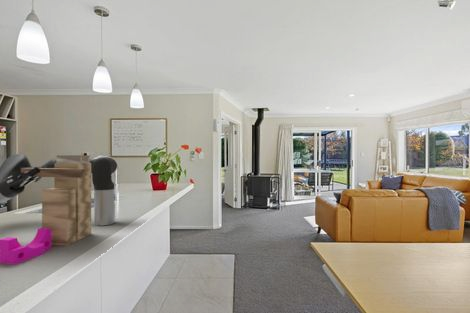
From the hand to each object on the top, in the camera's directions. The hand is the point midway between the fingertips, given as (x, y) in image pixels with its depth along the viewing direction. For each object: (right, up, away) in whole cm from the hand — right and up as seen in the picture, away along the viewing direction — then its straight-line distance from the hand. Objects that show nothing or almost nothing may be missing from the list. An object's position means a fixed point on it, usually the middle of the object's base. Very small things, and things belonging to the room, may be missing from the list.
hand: (42, 168), depth 108 cm
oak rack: (+7, -29, +5) cm, 30 cm away
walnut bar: (+4, -3, 0) cm, 5 cm away
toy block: (+5, -29, -13) cm, 33 cm away
